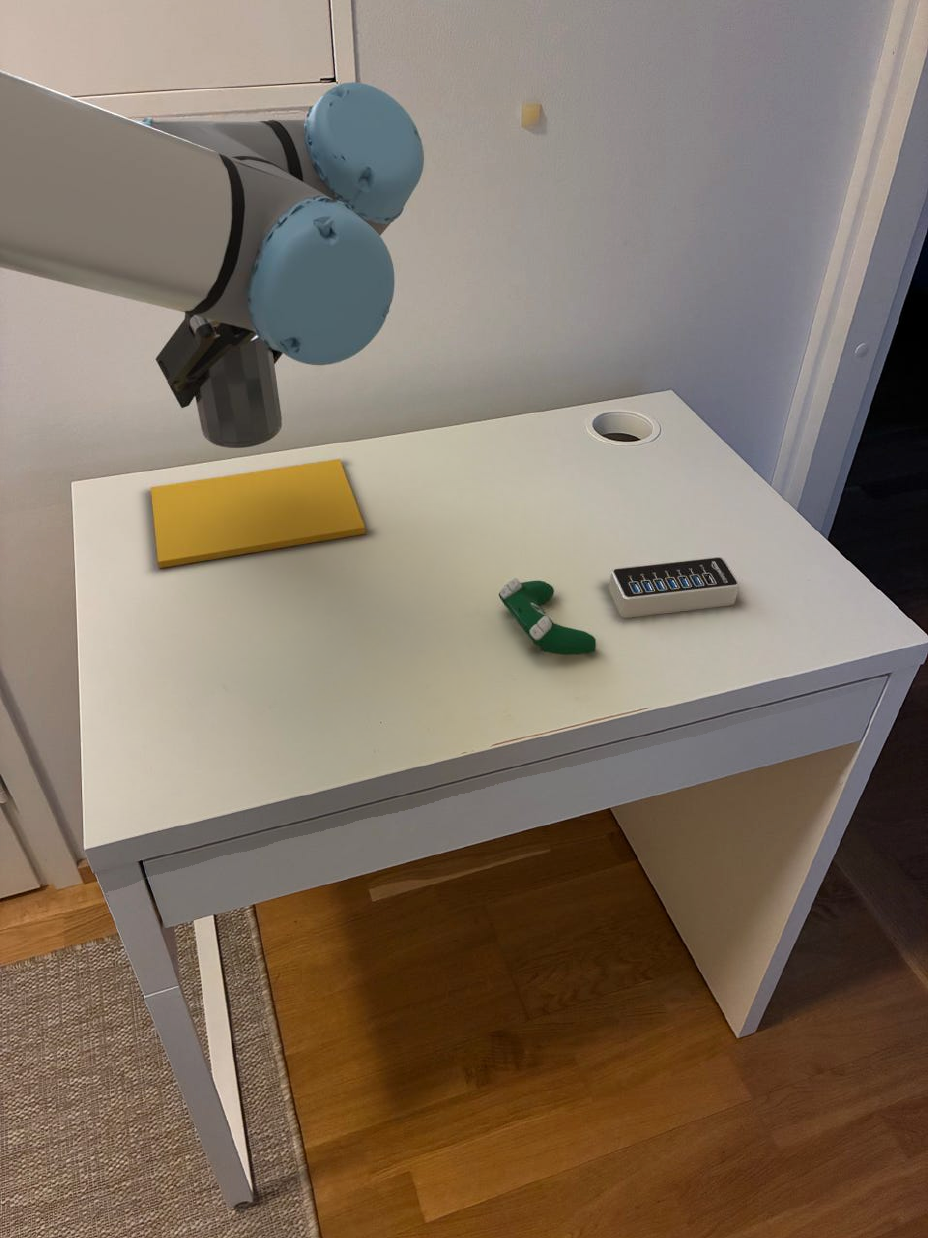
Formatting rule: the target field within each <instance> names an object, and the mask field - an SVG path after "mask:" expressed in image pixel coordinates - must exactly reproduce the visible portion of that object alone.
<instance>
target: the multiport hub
mask: <svg viewBox="0 0 928 1238" xmlns="http://www.w3.org/2000/svg"><path fill="white" fill-rule="evenodd" d="M739 588H740V582H739V581H738V579H737V577H736V575H735V574H734V572H733V571H732V569H731V568H730V566H729V564H728V563H727V561H726V560H725V559H724V558H723V557H721V556H714V557H706V558H697V559H689V560H680V561H679V560H678V561H669V562H661V563H653V564H643V565H635V566H626V567H617V568H613V569H611V570H610V576H609V584H608V592H609V595H610V597H611V599H612V601H613V603H614V605H615V607H616V609H617V612H618V615H619V616H620V617H621V618H624V619H628V618H639V617H646V616H655V615H663V614H670V613H671V614H672V613H679V612H686V611H687V612H688V611H696V610H704V609H705V610H706V609H713V608H721V607H728V606H729V607H730V606H733V605H735V603H736V599H737V596H738V591H739Z"/></svg>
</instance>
